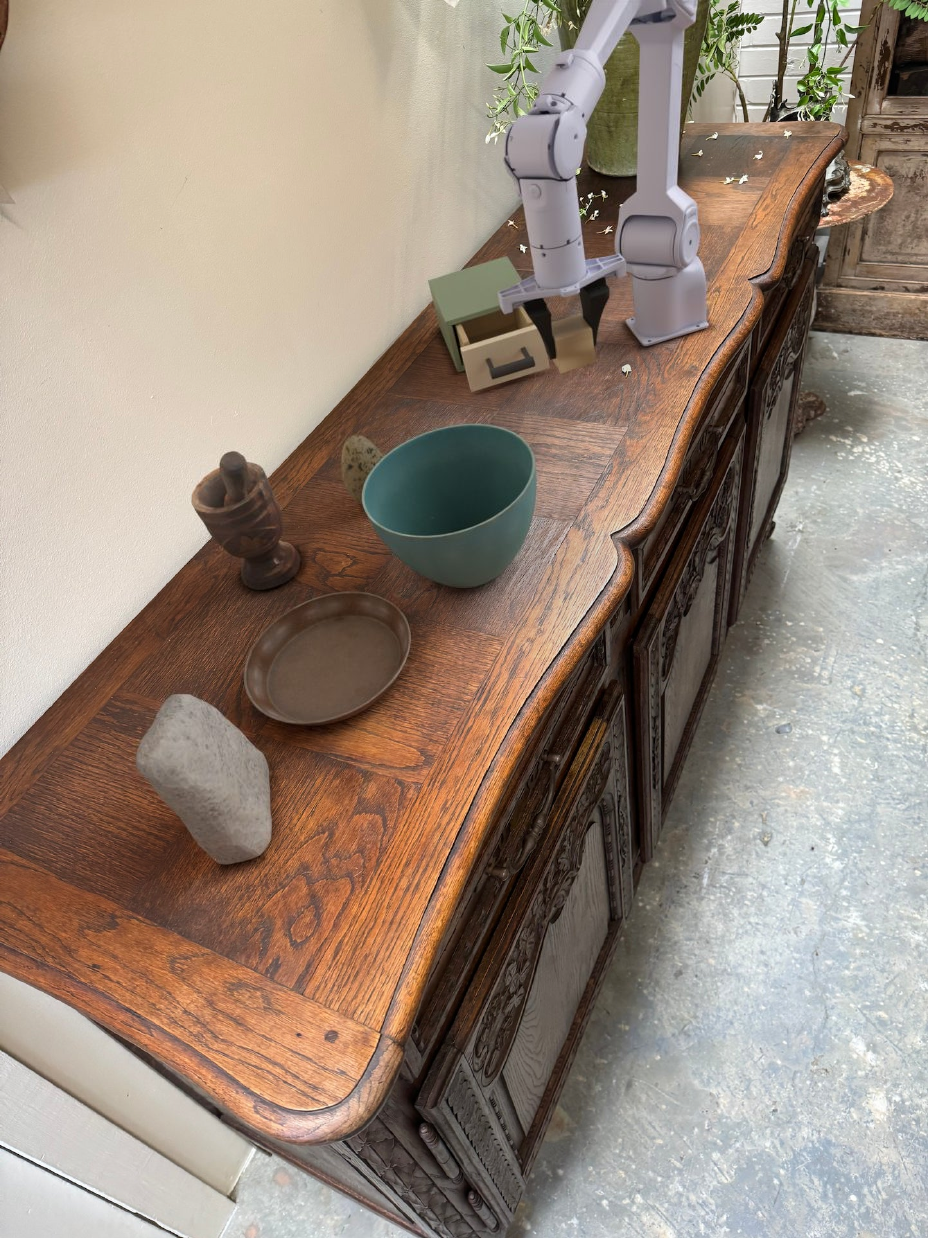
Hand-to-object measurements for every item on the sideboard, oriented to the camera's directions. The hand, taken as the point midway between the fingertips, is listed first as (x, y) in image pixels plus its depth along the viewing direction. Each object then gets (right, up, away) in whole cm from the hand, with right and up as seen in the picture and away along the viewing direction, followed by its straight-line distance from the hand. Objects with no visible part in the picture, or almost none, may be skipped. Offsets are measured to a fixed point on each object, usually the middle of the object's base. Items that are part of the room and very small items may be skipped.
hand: (570, 349), depth 101 cm
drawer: (-7, +4, +19) cm, 21 cm away
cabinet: (-9, +11, +27) cm, 31 cm away
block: (0, -1, +1) cm, 1 cm away
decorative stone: (-33, -50, -23) cm, 64 cm away
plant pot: (-12, -26, -6) cm, 29 cm away
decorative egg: (-24, -18, +5) cm, 30 cm away
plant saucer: (-26, -38, -13) cm, 48 cm away
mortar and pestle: (-35, -27, 0) cm, 44 cm away
